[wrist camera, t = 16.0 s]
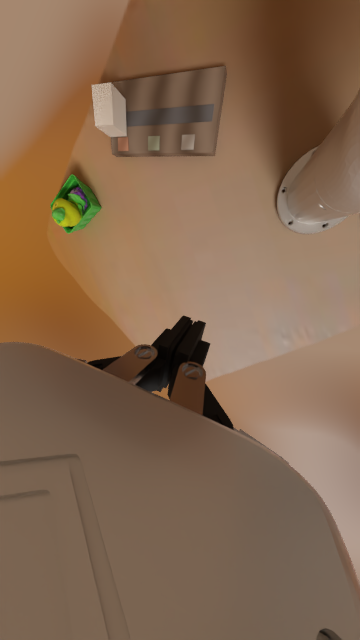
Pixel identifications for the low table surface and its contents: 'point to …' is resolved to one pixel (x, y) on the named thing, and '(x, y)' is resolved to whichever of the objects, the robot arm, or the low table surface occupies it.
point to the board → (172, 114)
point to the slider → (109, 110)
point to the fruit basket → (74, 205)
